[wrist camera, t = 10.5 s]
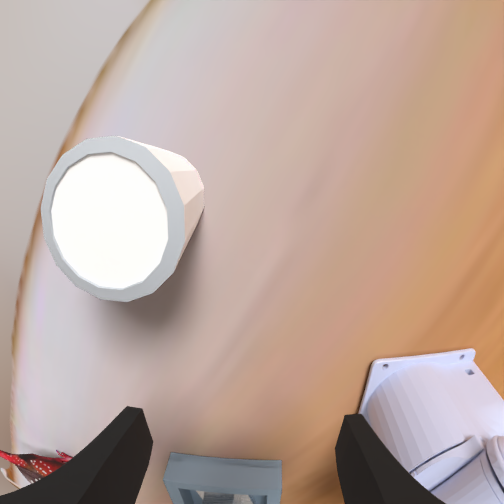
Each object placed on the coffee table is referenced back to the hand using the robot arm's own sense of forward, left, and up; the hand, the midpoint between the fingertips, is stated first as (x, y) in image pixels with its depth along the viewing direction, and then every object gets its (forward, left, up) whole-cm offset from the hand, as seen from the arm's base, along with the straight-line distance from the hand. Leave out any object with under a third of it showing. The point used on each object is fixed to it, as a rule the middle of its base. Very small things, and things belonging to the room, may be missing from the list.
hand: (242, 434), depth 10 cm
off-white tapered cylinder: (+6, -7, -11) cm, 14 cm away
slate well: (+3, +22, -10) cm, 25 cm away
